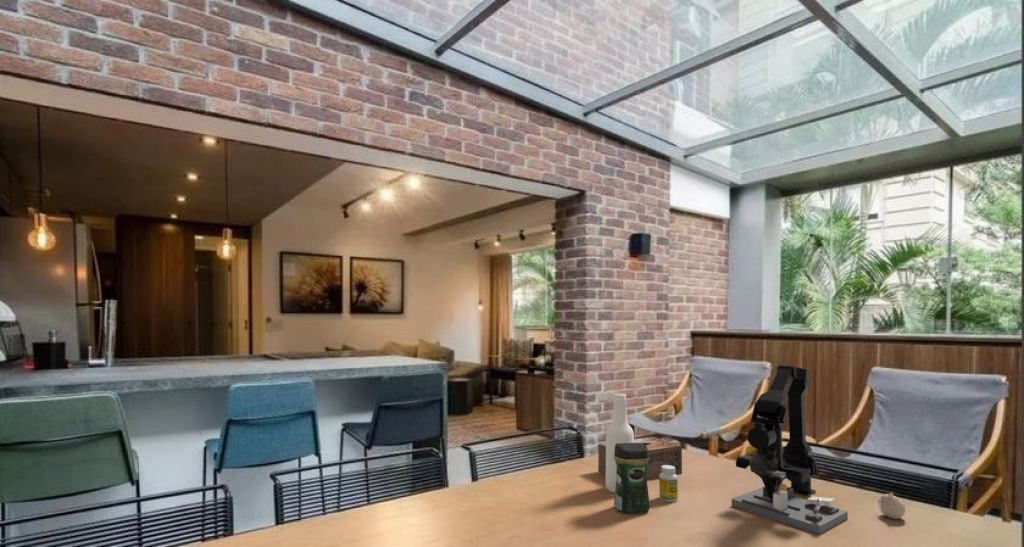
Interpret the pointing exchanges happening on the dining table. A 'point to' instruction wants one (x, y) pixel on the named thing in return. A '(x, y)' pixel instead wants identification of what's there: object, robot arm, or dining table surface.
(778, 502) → the grey angular block
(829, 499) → the white slab
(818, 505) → the toggle lever
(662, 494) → the supplement bottle
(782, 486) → the push button
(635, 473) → the coffee jar
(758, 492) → the panel
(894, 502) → the garlic bulb
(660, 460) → the tissue box cover
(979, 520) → the dining table surface
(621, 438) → the alcohol
